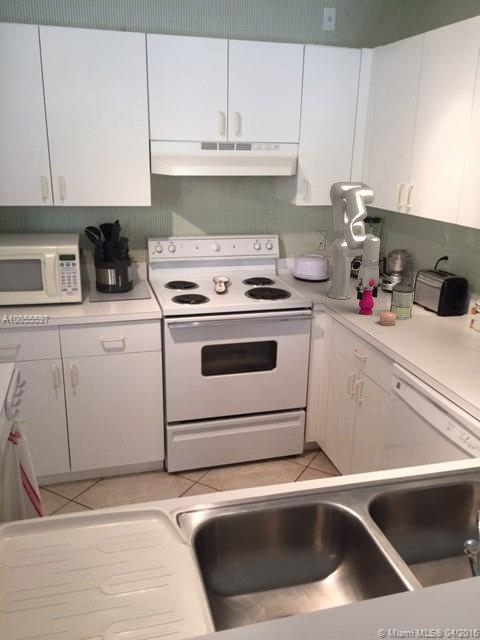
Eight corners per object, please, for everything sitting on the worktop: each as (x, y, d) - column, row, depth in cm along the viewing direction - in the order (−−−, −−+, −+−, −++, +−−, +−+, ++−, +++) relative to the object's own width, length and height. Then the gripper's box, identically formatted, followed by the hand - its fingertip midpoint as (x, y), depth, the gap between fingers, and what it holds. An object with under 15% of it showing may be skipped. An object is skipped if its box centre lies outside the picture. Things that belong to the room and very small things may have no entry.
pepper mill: (373, 315, 254) (377, 275, 248) (357, 314, 255) (361, 274, 249) (372, 311, 260) (376, 271, 254) (357, 310, 262) (361, 270, 256)
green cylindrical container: (385, 313, 257) (388, 285, 253) (404, 312, 259) (407, 284, 255) (395, 320, 248) (398, 291, 243) (415, 319, 250) (419, 290, 246)
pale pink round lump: (376, 323, 244) (377, 312, 242) (386, 320, 247) (388, 310, 246) (387, 327, 238) (388, 316, 236) (398, 324, 241) (399, 314, 240)
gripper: (377, 260, 258) (374, 294, 263) (350, 263, 249) (348, 298, 254) (389, 263, 252) (385, 297, 257) (362, 266, 243) (359, 302, 248)
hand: (366, 298), depth 255 cm, fingers open, 9 cm apart
